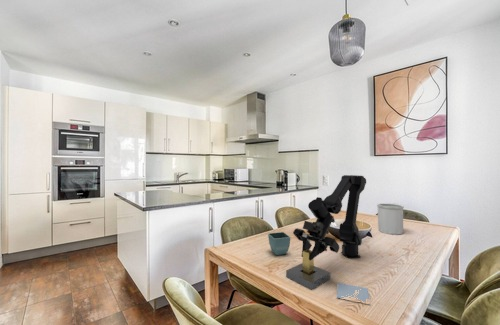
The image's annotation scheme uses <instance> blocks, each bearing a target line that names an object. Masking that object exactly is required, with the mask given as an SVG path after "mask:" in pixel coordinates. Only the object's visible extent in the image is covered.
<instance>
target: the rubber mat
mask: <svg viewBox="0 0 500 325" xmlns="http://www.w3.org/2000/svg"><path fill="white" fill-rule="evenodd" d="M336 287H337V289H336V299H337V298H344V297H348V296H351V295H352V296H351V297H354V295H355V294H354V293H355V290H357V292H358V290H359V294H358V293H357V294H358V295H357V294H356V295H357V296H356V295H355V296H356V297H357V298H358V300H359V299H360V300H362V301H363V302H364V300H365V301H366V299H370V293H369V288H367V287H363V286H359V285H358V286H357V285H353V284H346V283H343V282H337V286H336ZM360 289H361V290H360ZM348 294H349V295H348ZM353 294H354V295H353ZM346 295H347V296H346ZM341 296H344V297H341ZM351 297H349V298H351ZM356 297H355V298H356ZM357 298H356V299H357ZM370 300H371V299H370Z"/></svg>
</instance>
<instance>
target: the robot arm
mask: <svg viewBox="0 0 500 325" xmlns="http://www.w3.org/2000/svg"><path fill="white" fill-rule="evenodd" d="M366 184H367V179H366V177H365V176H364V175H357V174H356V175H353V174H352V175H351V174H350V175H347V174H343V175H342V176H341V178H340V181H339V182H338V184H337V185H336V187H335V189H333V191H332V192H331V194H330V195H328V196H326V197H325V198H322V197H316V198H315V199H313V200H311V201H310V202H309V203H308V206H307V207H308V209H309V210H310V212H311V213H312V215H313V216H314V217H315V219H316V220H315V221H313V222H311V221H307V220H304V222H303V226H302V228H298V227H297V228H294V230H293V231H292V234H293V235H294V236H295V237H296V239H297V240H299V242H300V241H301V242H302V249H301V257H302V258H303V251H304V250H307V249H308V250H310V249H311V248H312V243H311V241H312V242H314V246H313V248H312V250H311V251H312V252H311V254H310V256H309V260H312V259H313V258H314V259H315V258H316V257H317V256H319V255H321V254H322V253H324V252H328V248H329V250H330V251H331V252H334V253H336V254H338V253H339V250H340V244H338V242H337V240H336V239H335V238H333V237H330V236H327V235H329V233H330V232H329V229H330V226H331V225H332V223H336V222H335V221H336V220H335V218H334V215H338V214H339V213H340V212H341V210H342V208H343V203H342V202H343V200H344V198H345V196H346V194H347V192H349V193H348V196H347V206H346V212H345V218H344V221H343V222H340V224H339V229H338V238H339V242H342V245H341V252H340V253H341V254H342V255H343V256H345V258H347V259H354V258H355V259H357V258H361V256H360V255H359V246H362V241H363V239H362V237H361V235H360V233H359V227H358V225H357V217H358V211H359V210H358V209H359V203H360V195H361V194H362V192H363V191H364V190H365V187H366ZM332 214H333V215H332ZM305 230H306V232H307V233H306V232H305Z"/></svg>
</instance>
